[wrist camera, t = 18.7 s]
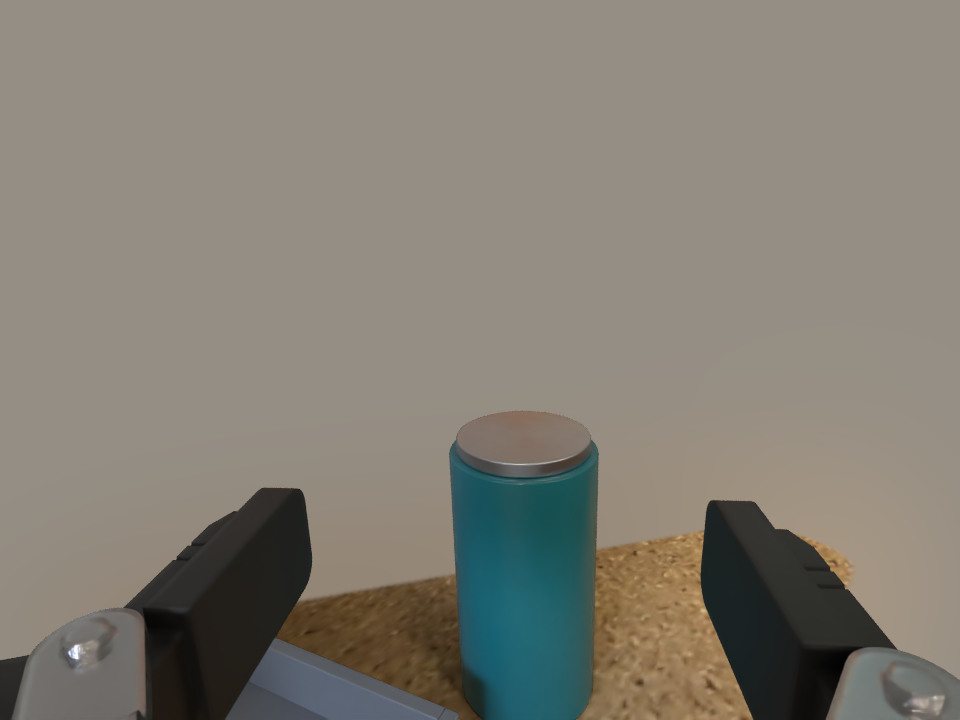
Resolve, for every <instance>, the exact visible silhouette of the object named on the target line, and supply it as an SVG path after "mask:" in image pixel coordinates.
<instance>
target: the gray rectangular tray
mask: <svg viewBox="0 0 960 720" xmlns="http://www.w3.org/2000/svg"><path fill="white" fill-rule="evenodd" d="M225 720H459V713H457V712H455V711H452V710H450V709H447V708H446V709H445V708H444V707H443V706H440V705H438V704H435V703H433V702H431V701H428V700H426V699H423V698H421V697H418V696H416V695H414V694H411V693H409V692H406V691H404V690H401V689H399V688H397V687H394V686H392V685H389V684H387V683H384V682H382V681H380V680H377V679H375V678H372V677H370V676H367V675H365V674H363V673H360V672H358V671H355V670H353V669H350V668H348V667H346V666H343V665H341V664H338V663H336V662H333V661H331V660H329V659H326V658H324V657H321V656H319V655H316V654H314V653H312V652H309V651H307V650H304V649H302V648H299V647H297V646H295V645H292V644H290V643H287V642H285V641H282V640H280V639H278V638H274V640H273V642H272V643H271V645H270V647H269V648H268V650H267V651H266V653H265V655H264V656H263V658H262V660H261V661H260V663H259V665H258V666H257V668H256V669H255V671H254V673H253V674H252V676H251V678H250V679H249V681H248V683H247V684H246V686H245V687H244V689H243V691H242V692H241V694H240V696H239V697H238V699H237V700H236V702H235V704H234V705H233V707H232V709H231V710H230V712H229V714H228V715H227V717H226V718H225Z"/></svg>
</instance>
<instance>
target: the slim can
mask: <svg viewBox="0 0 960 720" xmlns="http://www.w3.org/2000/svg"><path fill="white" fill-rule="evenodd" d="M449 455H450V456H449V457H450V475H451V492H452V493H451V494H452V512H453V531H454V549H455V566H456V587H457V605H458V624H459V642H460V661H461V680H462V687H463V691H464V694H465V696H466V699H467V701H468V702H469V704H470V705H471V707H472V708H473V710H474V711H475V712H476V713H477V714H478V715H479V716H480V717H481V718H482V719H484V720H575V719H577V718H578V717H579V716H580V714H581V713H582V712H583V711H584V709H585V708H586V706H587V705H588V702H589V700H590V698H591V694H592V690H593V663H594V621H595V580H596V538H597V496H598V455H599V453H598V449H597V447H596V445H595V443H594V442H593V441H592V440H591V435H590V433H589V431H588V430H587V428H586V427H584V426H583V425H582V424H580V423H579V422H577V421H575V420H573V419H570V418H567V417H564V416H561V415H557V414H552V413H546V412H534V411H512V412H503V413H497V414H491V415H487V416H483V417H480V418H478V419H475V420H473V421H471V422H469V423H467V424H466V425H464V426H463V427H462V428H461V429H460V430H459V432H458V434H457V436H456V441H455V442H454V443H453V444H452V446H451V449H450V453H449Z"/></svg>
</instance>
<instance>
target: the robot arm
mask: <svg viewBox="0 0 960 720" xmlns="http://www.w3.org/2000/svg"><path fill="white" fill-rule="evenodd" d="M311 567H312V552H311V544H310V536H309V528H308V520H307V512H306V504H305V498H304V495H303V492H302V491H301V490H300V489H294V488H261V489H260V490H259V491H257V492H256V493H255V495H253V496H252V498H251V499H249V500H248V501H247V503H245V505H244V506H242V508H241V509H239V510H238V511H234V512H232V513H230V514H228V515H226V516H225V517H223V518H221V519H220V520H218V521H216V522H214V523H212V524H211V525H209V526H208V527H207V528H206V529H205V530H204V531H203V532H202V533H201V534H200V535H199V536H198V537H197V538H196V539H194V540H193V542H192V545H191V546H187V547H186V548H185V549H184V550H183V551H182V552H181V553H180V554H179V555H178V556H177V559H176V560H173V561H172V562H171V563H170V564H169V565H168V566H166V567H165V568H164V569H163V570H162V571H161V572H160V573H159V574H158V575H157V576H156V577H155V578H154V579H153V580H152V581H151V582H150V583H149V584H148V585H147V586H146V587H145V588H144V589H142V590H141V592H139V593H138V594H137V595H136V596H135V597H134V598H133V599H132V600H131V601H130V602H129V603H128V604H127V605H126V606H125V607H124V608H113V609H105V610H100V611H97V612H93V613H90V614H87V615H85V616H82V617H80V618H77V619H75V620H73V621H71V622H69V623H67V624H66V625H64V626H62V627H60V628H59V629H57V630H56V631H54V632H53V633H51V634H50V635H49V636H47V637H46V638H45V639H44V640H43V641H41V642H40V644H38V645H37V646H36V648H35V649H34V650H33V651H32V653H31V654H30V655H27V656H22V657H16V658H11V659H6V660H0V720H225V718H226V717H227V715H228V714H229V712H230V710H231V709H232V707H233V705H234V704H235V702H236V700H237V699H238V697H239V696H240V694H241V692H242V691H243V689H244V687H245V686H246V684H247V683H248V681H249V679H250V678H251V676H252V674H253V673H254V671H255V669H256V668H257V666H258V665H259V663H260V661H261V660H262V658H263V656H264V655H265V653H266V651H267V650H268V648H269V647H270V645H271V643H272V642H273V640H274V638H275V637H276V635H277V634H278V632H279V630H280V629H281V627H282V625H283V624H284V622H285V620H286V619H287V617H288V616H289V614H290V612H291V611H292V609H293V607H294V606H295V604H296V603H297V601H298V599H299V598H300V596H301V594H302V593H303V591H304V589H305V588H306V585H307V583H308V581H309V577H310V573H311ZM701 588H702V595H703V599H704V603H705V606H706V609H707V611H708V614H709V616H710V618H711V621H712V623H713V625H714V628H715V630H716V633H717V635H718V637H719V640H720V642H721V644H722V647H723V649H724V651H725V654H726V656H727V658H728V661H729V663H730V665H731V668H732V670H733V673H734V675H735V677H736V680H737V682H738V684H739V687H740V689H741V691H742V694H743V696H744V698H745V701H746V703H747V705H748V708H749V710H750V712H751V715H752V717H753V720H960V680H958V679H957V678H956V677H954V676H953V675H951V674H950V673H948V672H947V671H945V670H944V669H942V668H940V667H938V666H937V665H935V664H933V663H931V662H929V661H927V660H925V659H922V658H920V657H918V656H915V655H912V654H909V653H906V652H902V651H899V650H897V649H896V647H895V646H894V645H893V644H892V643H891V641H890V640H889V639H888V638H887V636H886V635H885V634H884V633H883V631H882V630H881V629H880V628H879V626H878V625H877V624H876V623H875V622H874V620H873V619H872V618H871V617H870V616H869V614H868V613H867V612H866V611H865V610H864V608H863V607H862V606H861V605H860V603H859V602H858V601H857V600H856V598H855V597H854V596H853V595H852V594H851V592H850V591H849V590H847V589H845V587H844V584H843V583H842V581H841V580H840V579H839V578H838V577H837V575H836V574H835V573H834V572H831V571H830V567H829V566H828V564H827V563H826V562H825V561H824V559H823V558H822V557H821V556H820V555H819V553H818V552H817V551H816V550H815V548H814V547H812V546H811V545H809V544H808V543H806V542H805V541H803V540H802V539H800V538H799V537H797V536H796V535H795V534H793V533H792V532H790V531H789V530H784V529H775V528H774V527H773V526H772V524H771V523H770V522H769V520H768V519H767V518H766V516H765V515H764V514H763V512H762V511H761V510H760V508H759V507H758V506H757V504H756V503H754V502H752V501H719V500H712V501H710V502H709V504H708V506H707V511H706V521H705V531H704V542H703V553H702V563H701Z"/></svg>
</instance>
